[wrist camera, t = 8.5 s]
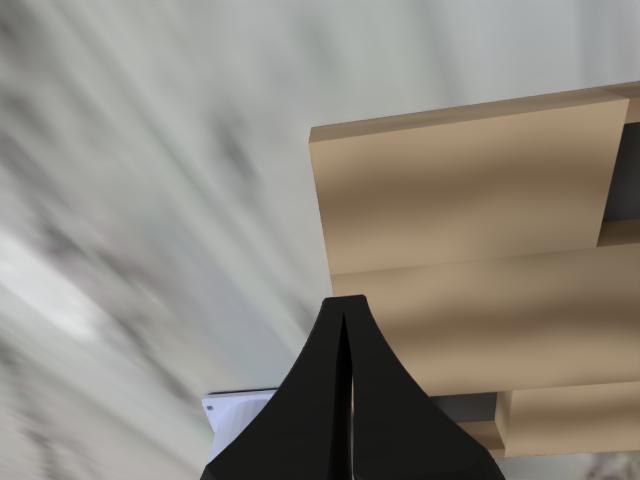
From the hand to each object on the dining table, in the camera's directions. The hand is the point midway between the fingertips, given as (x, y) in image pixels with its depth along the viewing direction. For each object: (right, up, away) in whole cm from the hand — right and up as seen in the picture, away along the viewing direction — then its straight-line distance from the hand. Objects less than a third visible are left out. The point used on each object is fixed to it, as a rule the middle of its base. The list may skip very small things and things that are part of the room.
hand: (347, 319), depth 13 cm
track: (+15, -1, +11) cm, 19 cm away
